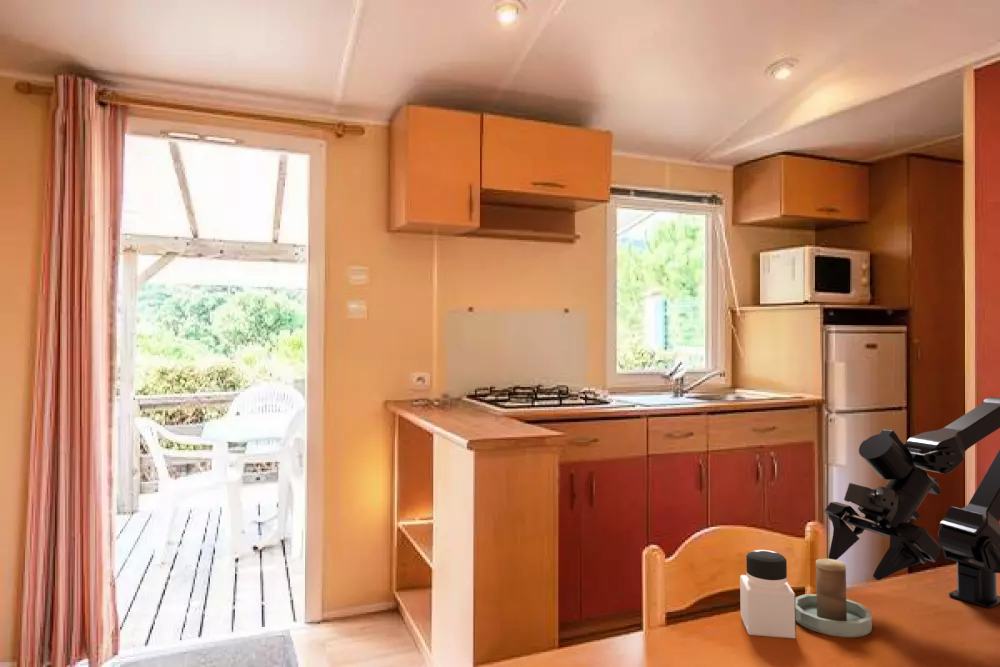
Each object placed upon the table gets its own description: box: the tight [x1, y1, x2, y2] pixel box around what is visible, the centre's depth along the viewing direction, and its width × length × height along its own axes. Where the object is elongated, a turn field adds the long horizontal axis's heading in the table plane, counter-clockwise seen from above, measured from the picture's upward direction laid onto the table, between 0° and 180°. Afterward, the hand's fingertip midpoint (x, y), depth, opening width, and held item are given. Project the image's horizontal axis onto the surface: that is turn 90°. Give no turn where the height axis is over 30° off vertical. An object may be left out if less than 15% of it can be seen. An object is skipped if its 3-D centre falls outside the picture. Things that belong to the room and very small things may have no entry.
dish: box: [795, 593, 873, 638], centre depth 105 cm, size 12×12×2 cm
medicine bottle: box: [739, 549, 797, 639], centre depth 103 cm, size 7×7×12 cm
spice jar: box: [815, 558, 847, 621], centre depth 105 cm, size 4×4×9 cm
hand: (852, 568), depth 106 cm, fingers open, 9 cm apart
